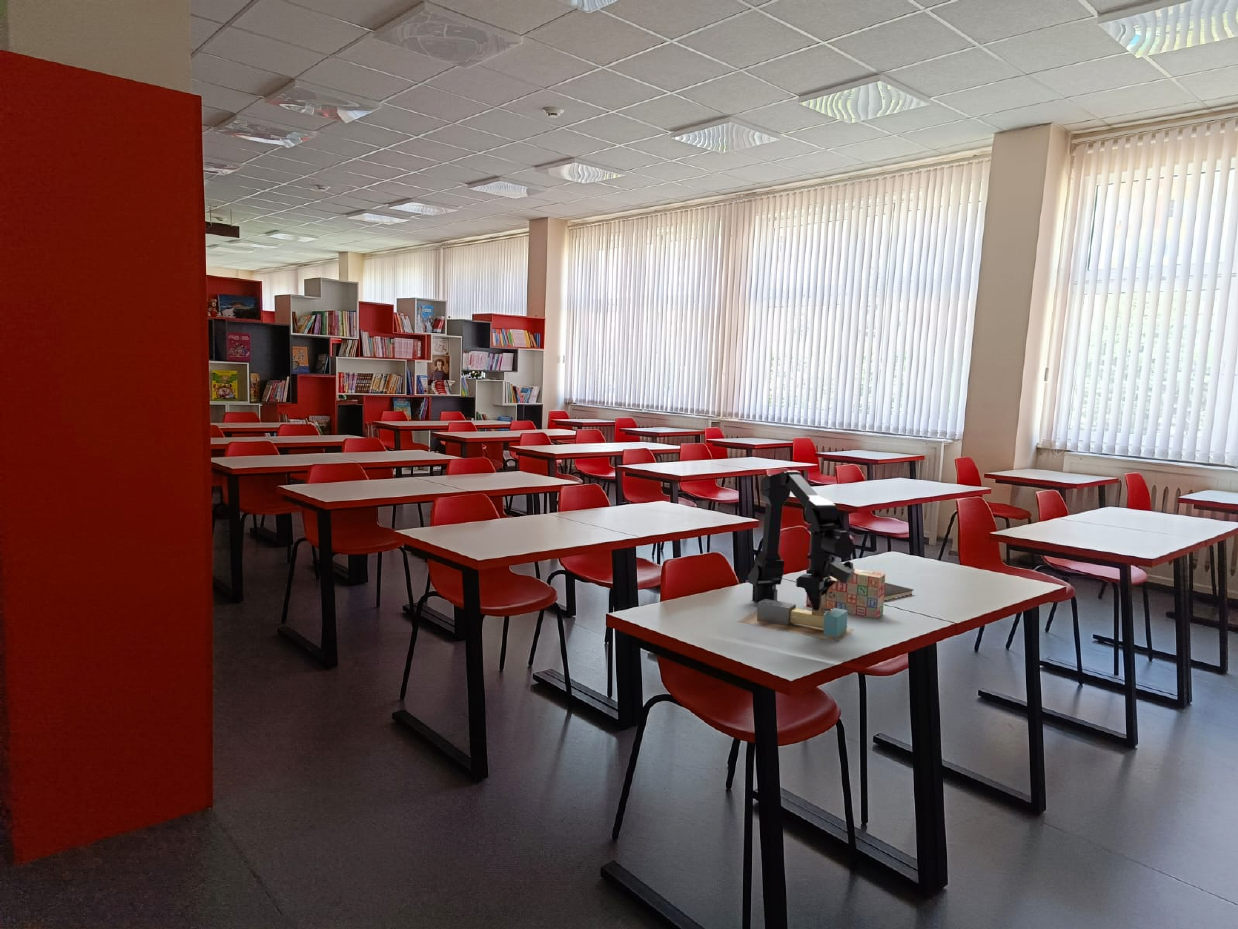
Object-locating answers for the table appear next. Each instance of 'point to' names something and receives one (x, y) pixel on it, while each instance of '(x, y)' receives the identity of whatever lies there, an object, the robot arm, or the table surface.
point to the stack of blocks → (858, 594)
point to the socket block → (835, 622)
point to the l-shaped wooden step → (809, 615)
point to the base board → (793, 628)
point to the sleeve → (774, 612)
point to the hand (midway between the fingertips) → (818, 609)
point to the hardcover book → (895, 591)
